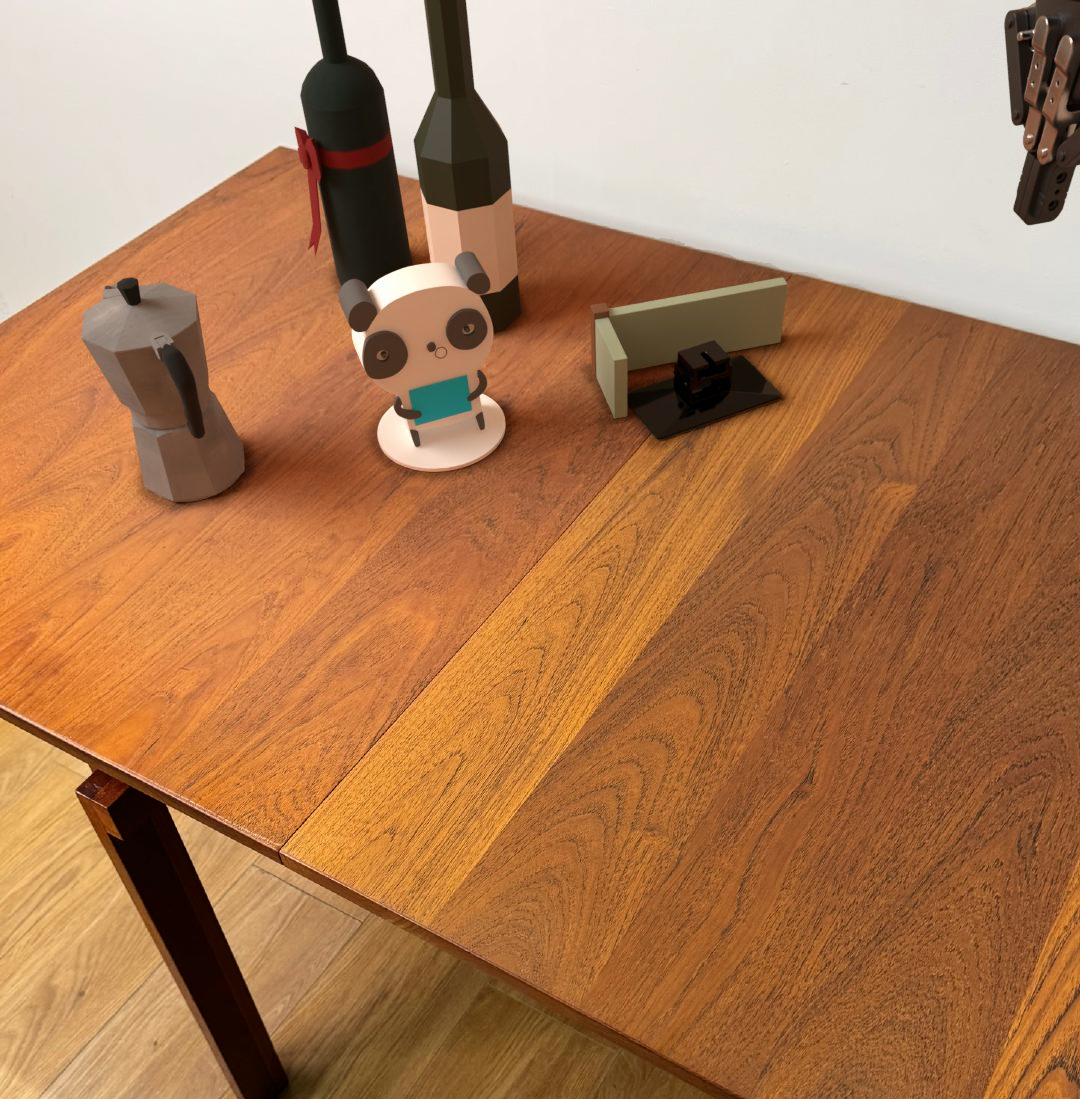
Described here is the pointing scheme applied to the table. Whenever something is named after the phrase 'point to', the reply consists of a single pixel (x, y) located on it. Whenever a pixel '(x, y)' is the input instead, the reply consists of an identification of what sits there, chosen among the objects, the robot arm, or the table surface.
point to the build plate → (701, 392)
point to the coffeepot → (164, 388)
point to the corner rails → (680, 330)
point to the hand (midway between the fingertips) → (1034, 216)
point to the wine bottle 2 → (466, 167)
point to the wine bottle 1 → (351, 159)
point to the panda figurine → (428, 361)
